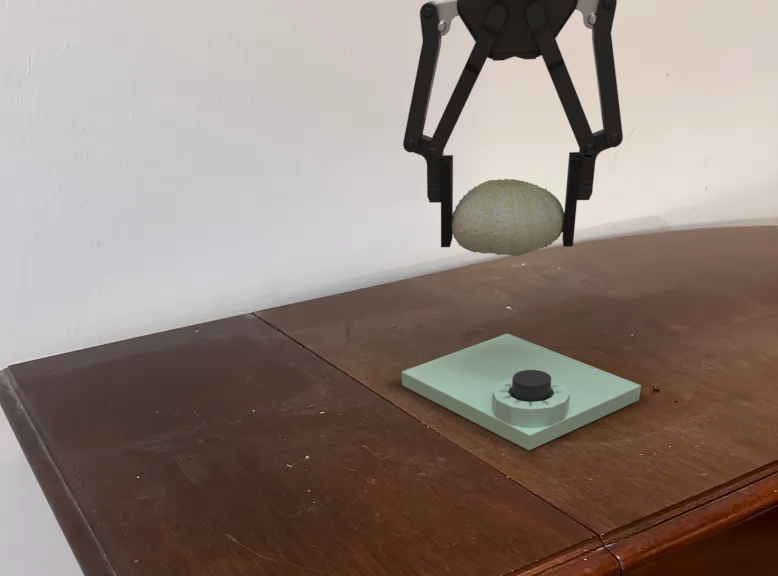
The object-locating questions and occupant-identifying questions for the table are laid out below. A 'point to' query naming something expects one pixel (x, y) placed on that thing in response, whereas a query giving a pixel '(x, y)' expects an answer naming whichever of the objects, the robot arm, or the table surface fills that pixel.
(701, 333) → the table surface
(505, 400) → the scale
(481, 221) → the sea urchin shell
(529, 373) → the power button
